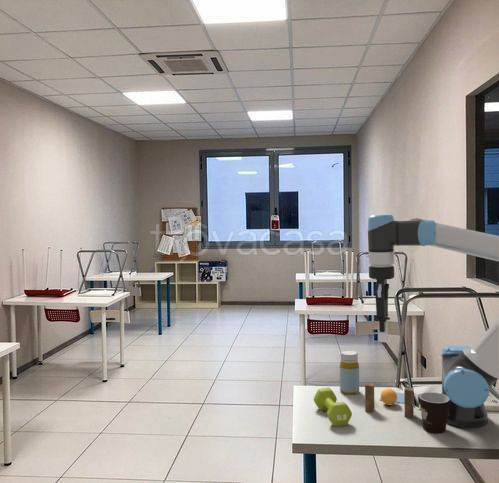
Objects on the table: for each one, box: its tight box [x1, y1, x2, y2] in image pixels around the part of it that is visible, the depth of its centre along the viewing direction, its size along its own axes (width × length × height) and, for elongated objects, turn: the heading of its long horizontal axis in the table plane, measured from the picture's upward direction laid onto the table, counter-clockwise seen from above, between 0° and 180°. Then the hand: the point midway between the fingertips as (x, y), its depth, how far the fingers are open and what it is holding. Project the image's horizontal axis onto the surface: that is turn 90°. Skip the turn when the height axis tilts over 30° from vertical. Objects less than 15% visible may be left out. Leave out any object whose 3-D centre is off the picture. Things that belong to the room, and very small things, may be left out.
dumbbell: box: [313, 387, 353, 427], centre depth 161 cm, size 16×8×7 cm, turn 11°
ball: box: [380, 387, 397, 406], centre depth 169 cm, size 6×6×6 cm
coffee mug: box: [417, 391, 449, 435], centre depth 151 cm, size 12×9×10 cm
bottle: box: [339, 349, 360, 396], centre depth 181 cm, size 7×7×15 cm
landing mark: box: [379, 391, 404, 404], centre depth 175 cm, size 9×9×1 cm
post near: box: [403, 386, 415, 419], centre depth 159 cm, size 3×3×9 cm
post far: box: [364, 382, 375, 413], centre depth 164 cm, size 3×3×9 cm
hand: (382, 341), depth 151 cm, fingers closed
